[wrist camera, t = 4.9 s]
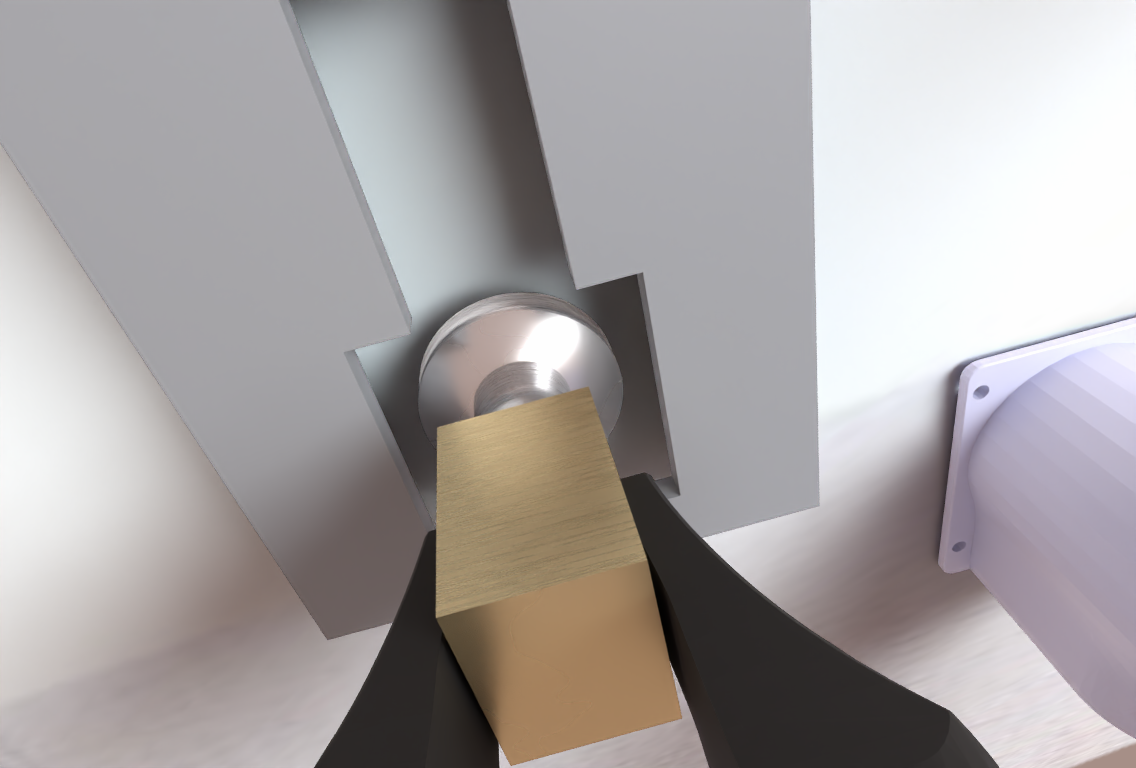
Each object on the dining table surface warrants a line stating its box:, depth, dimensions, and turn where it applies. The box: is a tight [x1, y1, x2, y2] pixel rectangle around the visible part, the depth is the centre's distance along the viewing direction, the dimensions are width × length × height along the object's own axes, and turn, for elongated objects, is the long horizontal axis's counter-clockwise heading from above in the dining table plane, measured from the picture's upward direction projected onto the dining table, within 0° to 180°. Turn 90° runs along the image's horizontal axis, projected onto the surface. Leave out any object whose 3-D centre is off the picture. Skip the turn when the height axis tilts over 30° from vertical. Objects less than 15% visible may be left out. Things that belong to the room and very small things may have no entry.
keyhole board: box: [0, 0, 819, 640], centre depth 15 cm, size 20×14×3 cm
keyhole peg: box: [418, 292, 682, 766], centre depth 14 cm, size 5×5×8 cm
